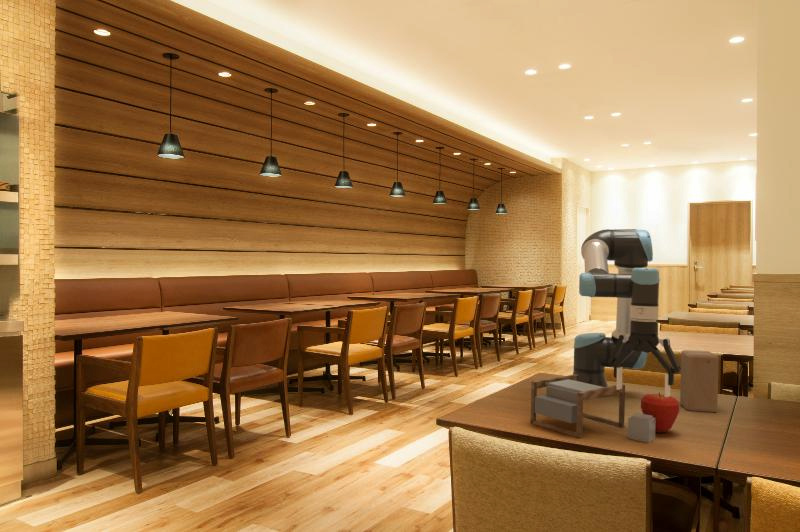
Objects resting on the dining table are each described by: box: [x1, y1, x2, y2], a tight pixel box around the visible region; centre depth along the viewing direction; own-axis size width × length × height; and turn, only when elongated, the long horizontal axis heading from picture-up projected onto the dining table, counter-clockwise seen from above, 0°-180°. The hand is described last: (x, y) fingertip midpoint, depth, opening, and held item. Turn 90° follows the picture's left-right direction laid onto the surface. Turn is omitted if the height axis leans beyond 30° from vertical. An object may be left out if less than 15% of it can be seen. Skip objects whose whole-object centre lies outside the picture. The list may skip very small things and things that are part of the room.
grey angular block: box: [535, 379, 604, 424], centre depth 182 cm, size 17×16×9 cm
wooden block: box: [679, 349, 720, 413], centre depth 207 cm, size 10×10×20 cm
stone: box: [627, 413, 656, 444], centre depth 171 cm, size 6×6×7 cm
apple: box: [640, 391, 680, 433], centre depth 178 cm, size 11×11×12 cm
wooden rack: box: [530, 374, 626, 439], centre depth 184 cm, size 22×19×13 cm
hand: (642, 392), depth 171 cm, fingers open, 13 cm apart
